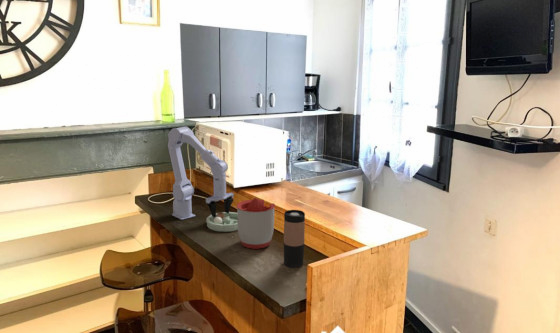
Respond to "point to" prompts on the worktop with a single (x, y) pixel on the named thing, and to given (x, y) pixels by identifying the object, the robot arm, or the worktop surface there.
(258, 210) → the citrus juicer
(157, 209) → the worktop surface
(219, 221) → the ivory bead
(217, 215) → the terracotta bead
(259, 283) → the worktop surface
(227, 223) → the tray
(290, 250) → the travel mug
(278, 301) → the worktop surface
